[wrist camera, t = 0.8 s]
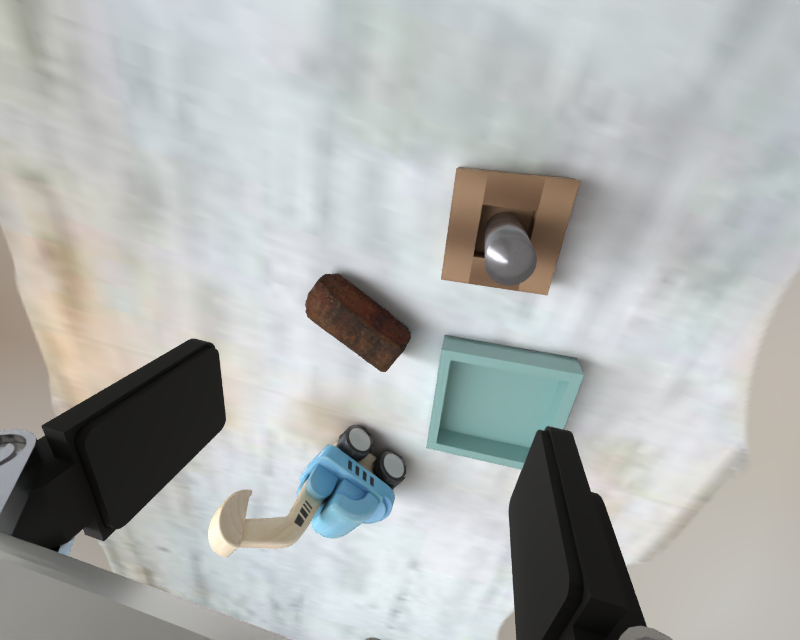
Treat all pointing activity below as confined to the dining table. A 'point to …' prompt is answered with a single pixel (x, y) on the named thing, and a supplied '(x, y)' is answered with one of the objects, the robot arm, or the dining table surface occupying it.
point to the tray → (498, 399)
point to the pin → (508, 250)
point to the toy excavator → (318, 498)
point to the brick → (356, 321)
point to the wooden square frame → (515, 193)
